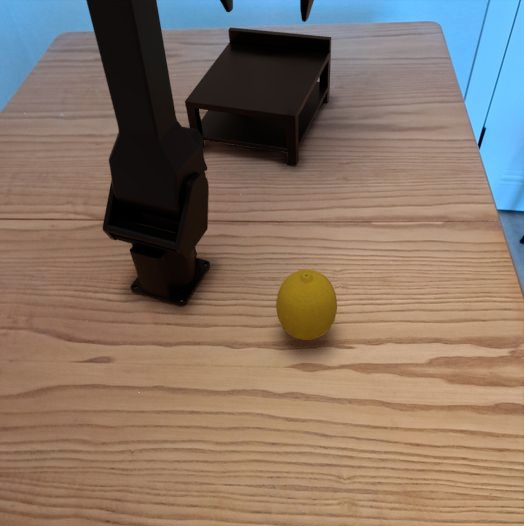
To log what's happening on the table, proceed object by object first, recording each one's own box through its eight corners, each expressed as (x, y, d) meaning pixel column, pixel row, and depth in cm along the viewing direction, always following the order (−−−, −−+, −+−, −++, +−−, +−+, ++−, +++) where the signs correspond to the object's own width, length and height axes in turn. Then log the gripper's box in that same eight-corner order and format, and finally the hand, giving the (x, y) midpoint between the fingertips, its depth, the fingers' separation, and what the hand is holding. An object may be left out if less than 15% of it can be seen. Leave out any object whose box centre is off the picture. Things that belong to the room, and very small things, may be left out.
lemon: (268, 324, 56) (263, 265, 50) (318, 304, 58) (319, 244, 51) (293, 364, 53) (292, 308, 47) (346, 342, 54) (351, 284, 48)
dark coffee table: (296, 166, 71) (295, 102, 65) (193, 150, 75) (182, 88, 68) (329, 98, 80) (331, 36, 74) (236, 87, 84) (230, 27, 77)
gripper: (382, -189, 54) (368, -6, 66) (204, -192, 59) (222, -22, 71) (345, -156, 48) (337, 38, 60) (151, -162, 53) (181, 17, 65)
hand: (266, 15), depth 64 cm, fingers open, 9 cm apart
